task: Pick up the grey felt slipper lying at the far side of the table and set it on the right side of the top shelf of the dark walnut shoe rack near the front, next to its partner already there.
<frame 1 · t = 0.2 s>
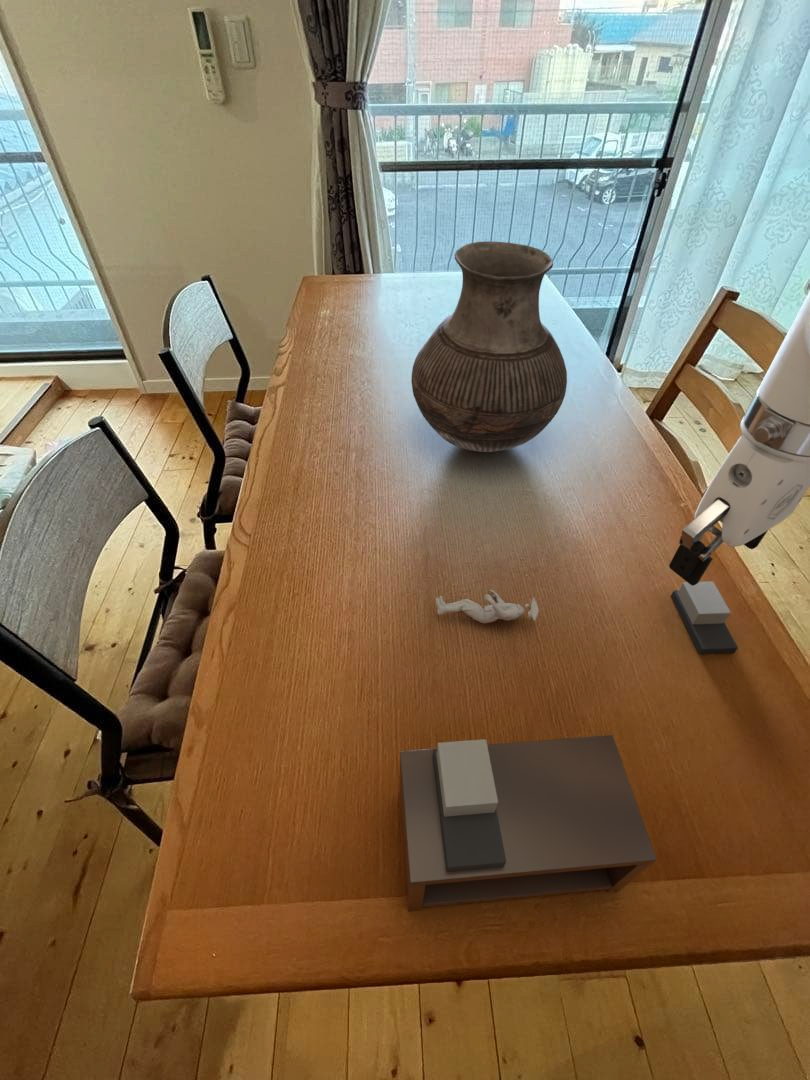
hand: (712, 557, 59), 14 cm above the table, tool pointing down, fingers open, 9 cm apart
vase: (480, 439, 97), on the table
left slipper: (466, 806, 45), point 10 cm above the table, touching shoe rack
right slipper: (700, 623, 70), on the table
shoe rack: (503, 839, 52), on the table
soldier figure: (483, 618, 70), on the table
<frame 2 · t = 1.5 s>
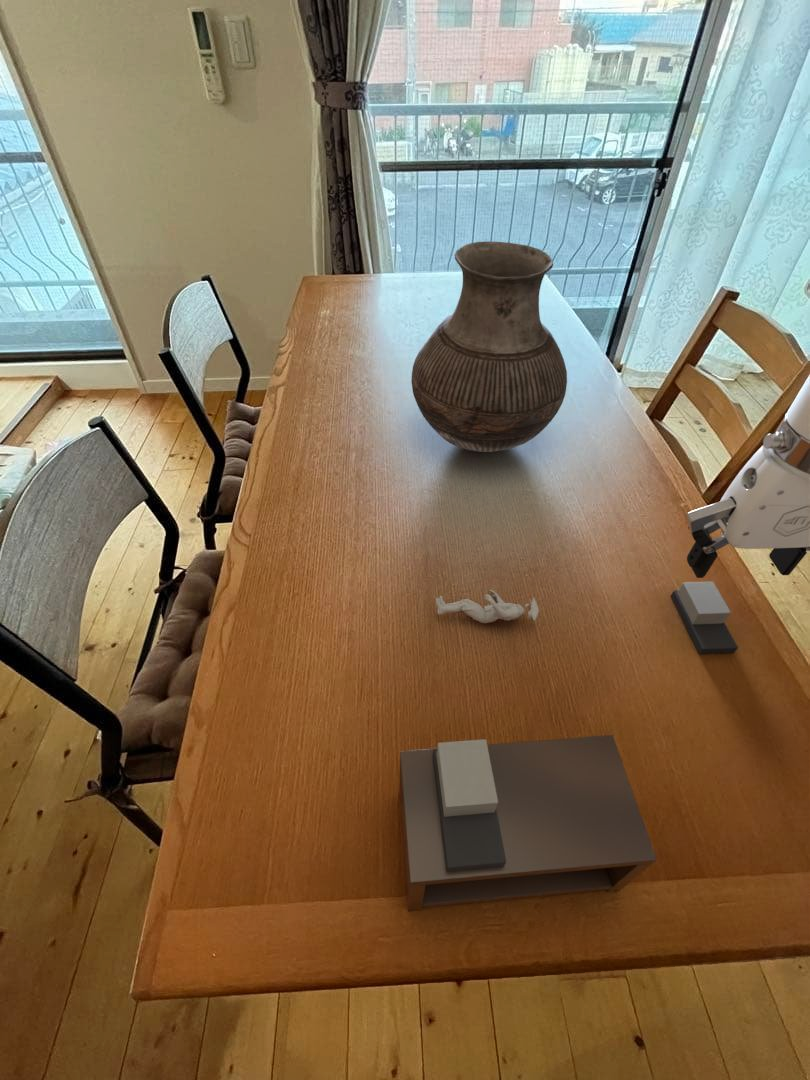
hand: (736, 567, 63), 10 cm above the table, tool pointing down, fingers open, 9 cm apart
nothing on the table moved.
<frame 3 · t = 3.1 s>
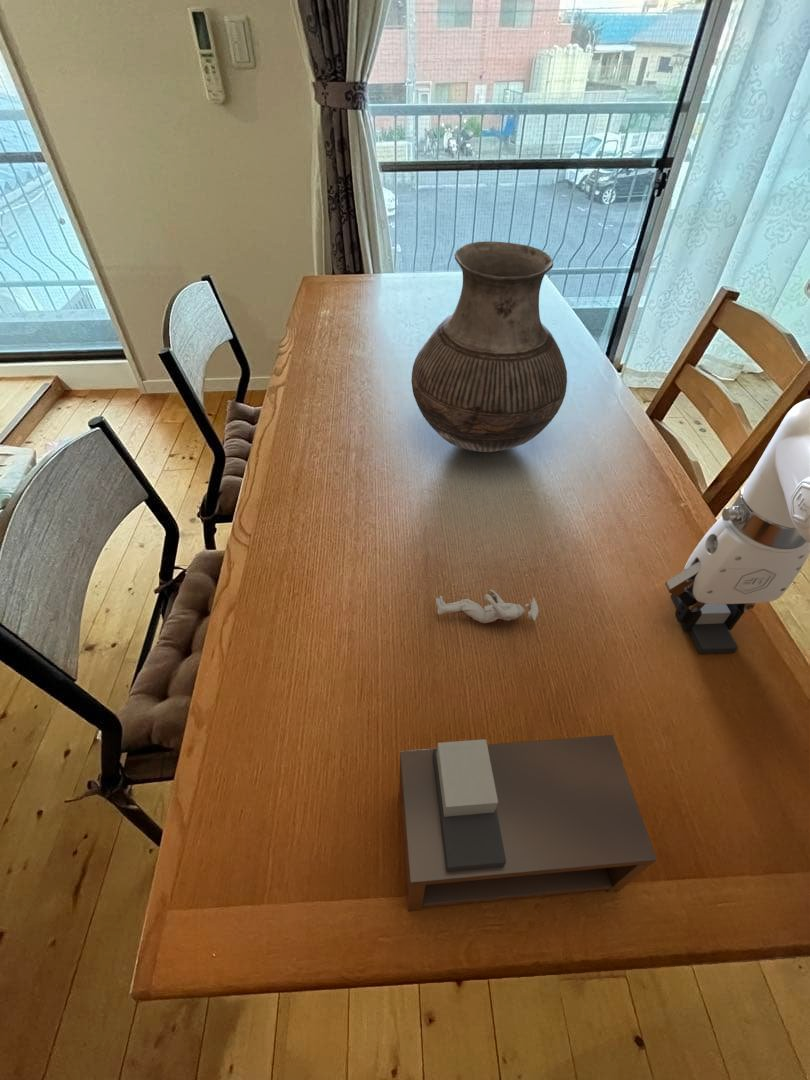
hand: (702, 620, 70), 1 cm above the table, tool pointing down, fingers closed on right slipper, 4 cm apart
right slipper: (700, 623, 70), on the table, touching gripper
everything else where it was.
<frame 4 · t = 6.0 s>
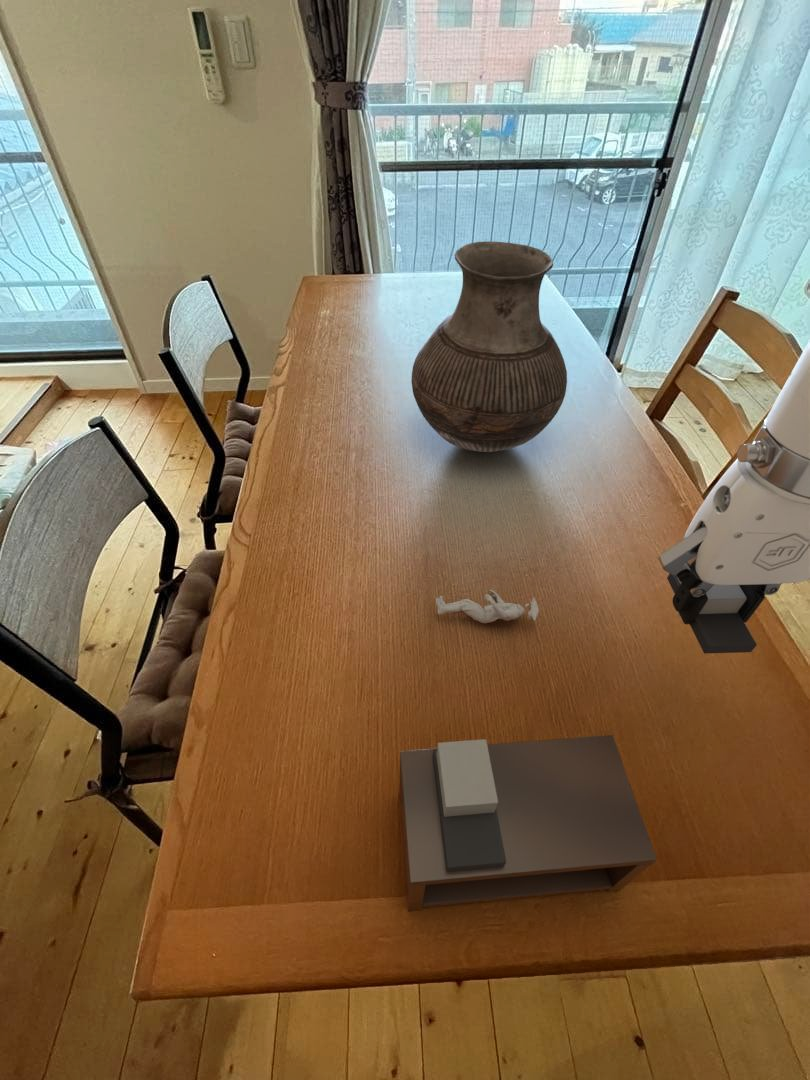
hand: (708, 610, 53), 15 cm above the table, tool pointing down, fingers closed on right slipper, 4 cm apart
right slipper: (706, 613, 53), point 14 cm above the table, touching gripper
everything else where it was.
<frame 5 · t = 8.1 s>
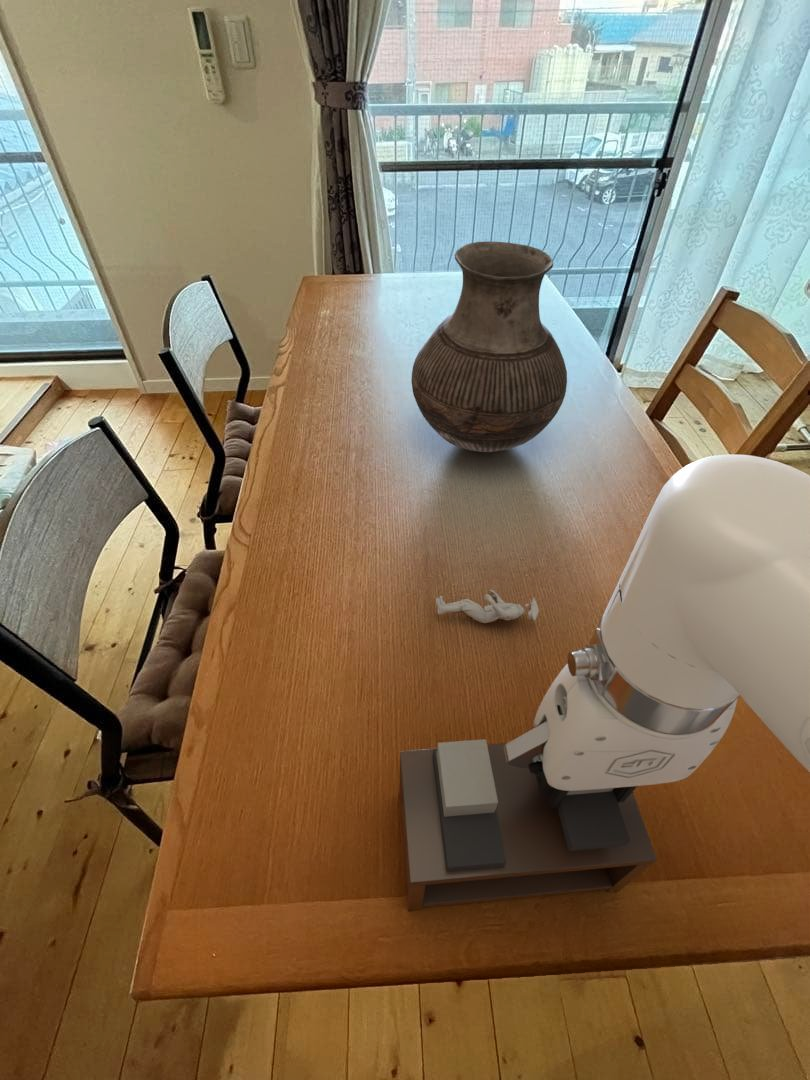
hand: (580, 784, 44), 13 cm above the table, tool pointing down, fingers closed on right slipper, 4 cm apart
right slipper: (579, 786, 44), point 12 cm above the table, touching gripper
everything else where it was.
when the fingers open (11 cm above the table, at t = 9.1 s): right slipper stays where it is, resting on shoe rack.
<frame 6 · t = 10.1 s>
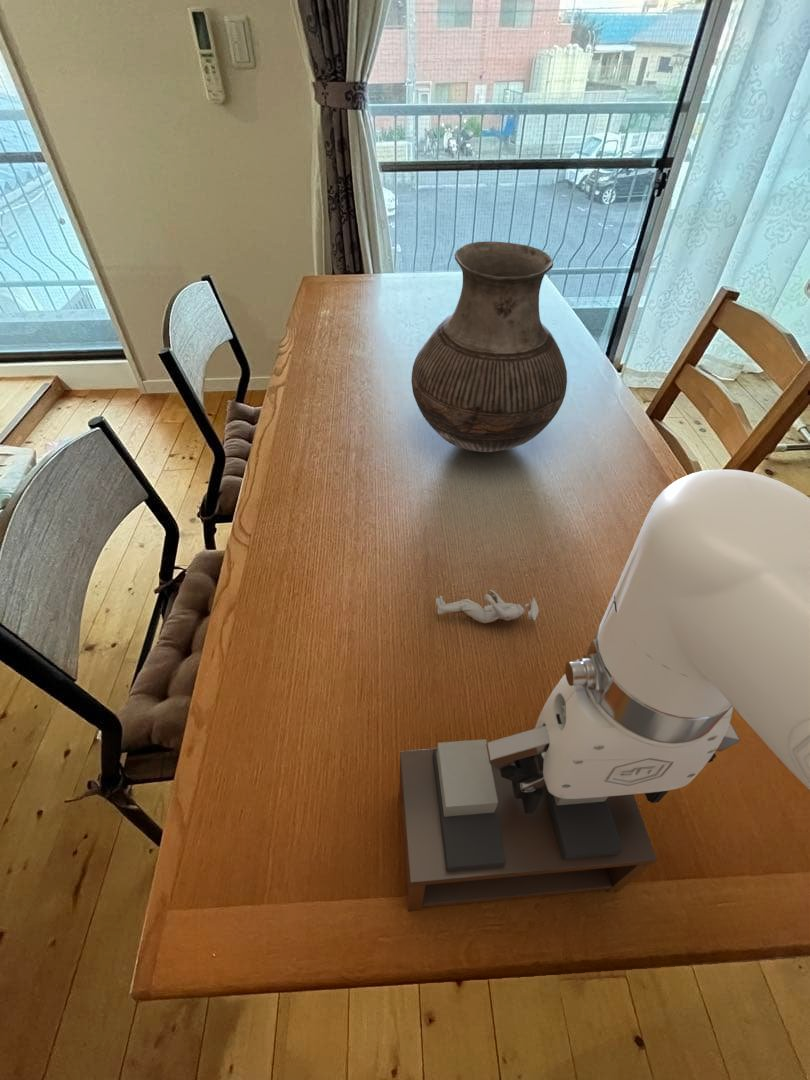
hand: (585, 787, 43), 13 cm above the table, tool pointing down, fingers open, 9 cm apart
right slipper: (573, 796, 46), point 10 cm above the table, touching shoe rack
everything else where it was.
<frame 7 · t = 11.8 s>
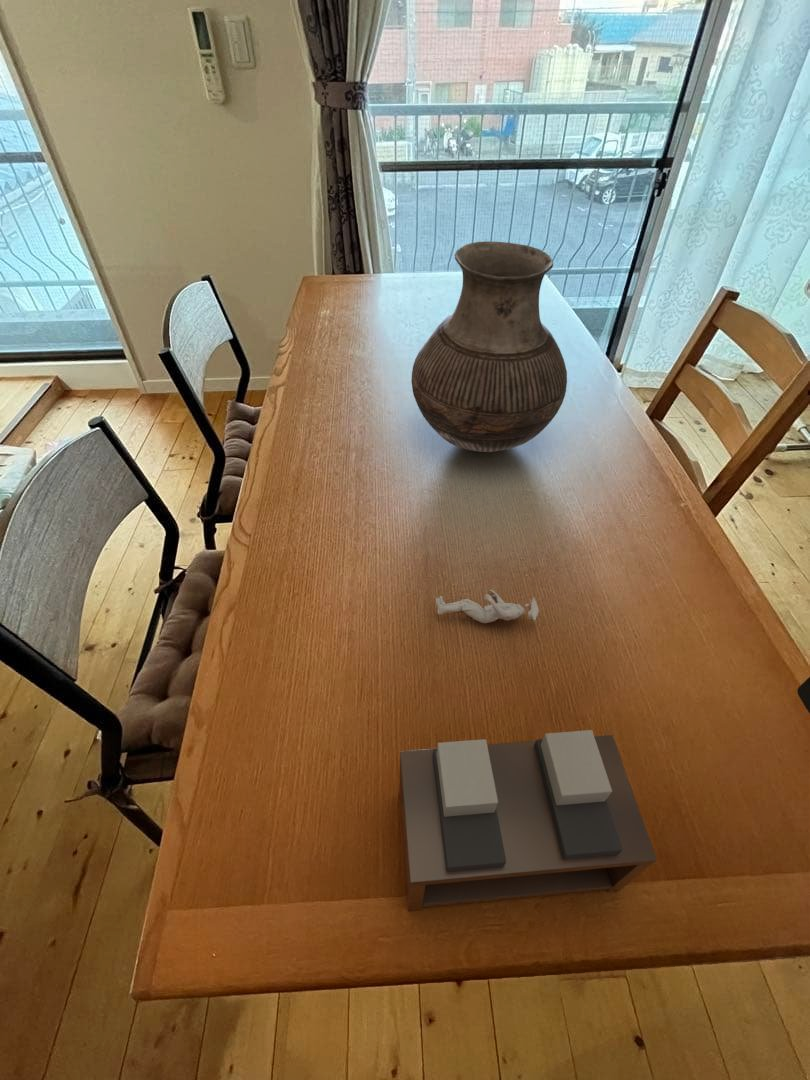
nothing on the table moved.
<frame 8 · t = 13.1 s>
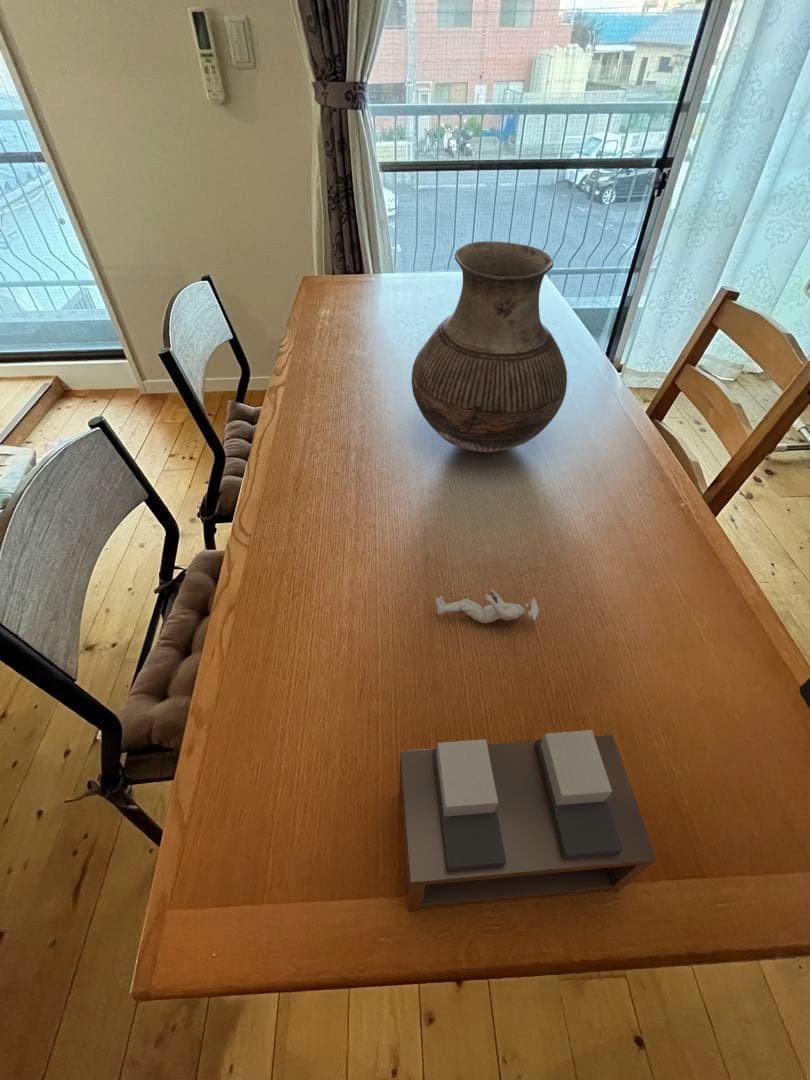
nothing on the table moved.
at the end: right slipper 0.1 cm from the target spot on the shoe rack, point 10.0 cm above the shoe rack's base; right slipper tilted 0°; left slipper moved 0.0 cm from its start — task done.
